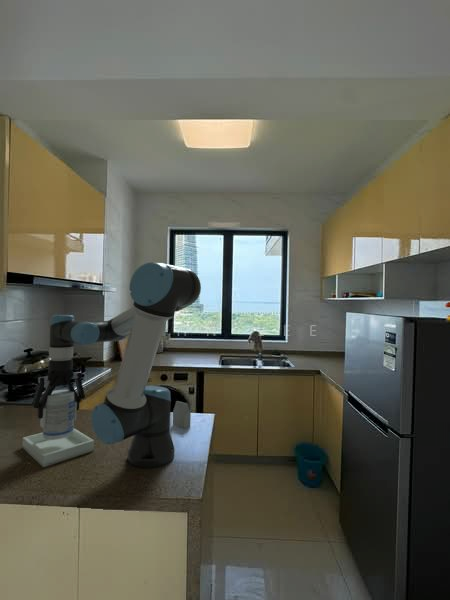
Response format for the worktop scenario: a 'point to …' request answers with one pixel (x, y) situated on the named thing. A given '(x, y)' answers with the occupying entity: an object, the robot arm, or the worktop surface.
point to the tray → (57, 447)
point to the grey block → (181, 415)
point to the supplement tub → (59, 415)
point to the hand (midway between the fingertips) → (58, 423)
